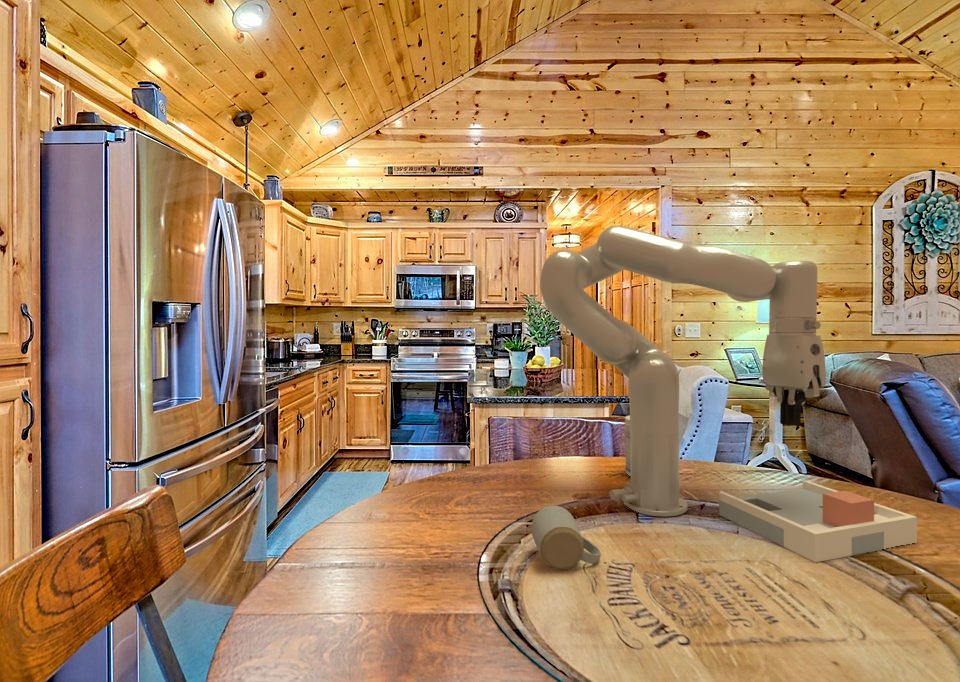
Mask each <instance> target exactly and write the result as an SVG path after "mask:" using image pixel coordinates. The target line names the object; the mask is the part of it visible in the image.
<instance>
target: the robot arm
mask: <svg viewBox="0 0 960 682" xmlns="http://www.w3.org/2000/svg"><path fill="white" fill-rule="evenodd" d="M623 271H627V272H631V273H634V274H638V275H641V276H644V277H645V276H646V277H649V278H651V279H655V280H658V281H662V282H666V283H671V284H686V285H687V284H688V285H694V286H698V287H703V288H707V289H709V290H710V289H711V290H714V291H717V292H721V293H724V294H727V296H728V297H729V298H731V299H732V300H734V301H737V302H740V303H749V302H755V301H756V302H757V301H763V300H766V301H767V300H769V305H768V306H769V313H768V314H769V316H768V317H769V319H768V334H767V335H766V338H765V343H764V349H763V354H762V355H763V356H762V371H761V372H762V373H761V374H762V381H763V382H764V384H765V386H764V388H765V389H766V391H769V392H771V393H773V394H774V396H776V401H777V402H778V403H779V406H780V410H779V414H780V415H779V418H780V419H779V424H780V425H783V426H784V425H785V426H788V427H789V426H790V427H791V426H800V425H801V422H802V418H801V417H802V405H804V404H805V402H806V401H807V400H808V399H809V398H816V397H819V396H820V395H821V393H820V389H824V388H825V386H826V380H827V377H826V376H827V375H826V373H827V372H826V358H825V357H826V356H825V350H824V344H823V340H822V337H821V335H817V330H819V329H820V328H821V326H822V324H821V322H820V321H817V317H818V315H817V314H818V313H817V312H818V309H817V308H818V266H817V264H816V262H813V261H810V260H790V261H783V262H778V263H775V264H774V265H771V264H769V262H768V261H767V262H766V260H763V259H762V258H758V257H755V256H750V255H748V254H744V253H741V252H740V253H739V252H737V251H736V252H735V251H732V250H727V249H723V248H719V247H716V246H715V247H713V246H707V245H704V244H699V243H698V244H697V243H693V242H688V241H683V240H680V239H679V240H678V239H675V238H671V237H666V236H662V235H659V234H656V233H651V232H647V231H644V230H640V229H638V228H637V229H636V228H633V227H629V226H624V225H611V226H609V227H606V228H605V229H604V230H603V231H602V232H600V234H599V236H598V238H597V239H596V243H594V244H593V245H590V246H588V247H587V248H584V249H582V250H580V251H579V252H575V251H574V250H569V249H560V250H556V251H555V252H553V253H551V254H550V255H548V257H547V258H546V260H545V261H544V263H543V266H542V268H541V272H540V279H539V282H540V283H539V285H540V287H539V288H540V293H541V296H542V299H543V302H544V303H545V305H546V307H547V308H548V310H549V311H550V314H552V315H553V316H554V317H555V318H556V320H558V321H559V322H560V323H561V324H562V325H563V326H564V327H565V328H567V330H568V331H569V332H570V333H571V334H573V336H574V337H575V338H576V339H578V340H579V341H580V342H581V343H582V344H583V345H585V346H586V347H587V348H588V349H589V350H590V351H591V352H592V353H593V354H594V355H595V356H596V357H597V358H598V359H599V360H600V361H602V362H603V363H607V364H611V365H613V366H614V368H616V369H617V370H618V371H620V373H622V374H623V375H624V376H625V377H627V378H628V396H629V397H628V399H629V403H628V404H629V415H630V457H631V477H630V481H628V482H625V486H624V487H623V488H621V489H618V488H617V489H611V490H609V497H610V499H611V500H612V501H613V500H614V501H615V500H622V503H623V502H624V503H625V504H626V505H627V506H628V507H629V508H631V509H632V510H634V511H633V512H635V511H636V512H635V513H638V512H639V513H638V514H641V513H642V515H646V516H651V517H652V516H653V517H654V516H655V517H666V518H667V517H675V516H680V515H683V514H685V513H686V512H687V511H688V509H689V508H688V502H687V501H686V500H685V499H684V498H683V497H681V496H680V432H679V429H680V427H679V425H680V422H679V417H680V416H679V414H680V412H679V411H680V409H679V406H680V405H679V404H680V402H679V400H680V375H679V370H678V368H677V366H676V364H675V362H674V361H673V359H672V358H671V357H670V356H669V355H668V354H666V352H664V351H663V350H661V349H660V348H659V347H658V346H657V345H656V344H654V343H653V342H652V341H650V340H649V339H648V338H647V337H646V336H645V335H643V334H642V333H641V332H640V331H638V329H636V328H635V327H634V326H632V325H631V324H630V323H628V322H626V321H623V320H620V319H618V318H617V317H616V316H615V315H613V314H612V313H610V311H608V310H607V309H605V307H603V306H602V305H601V304H600V303H599V302H598V301H597V300H596V299H595V298H593V297H592V296H590V294H589V293H587V292H586V291H585V289H587V288H589V287H591V286H593V285H595V284H597V283H600V282H601V281H604V280H606V279H608V278H610V277H613V276H616V274H619V273H621V272H623ZM624 503H623V504H624ZM629 508H628V509H629ZM632 510H631V511H632Z"/></svg>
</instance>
